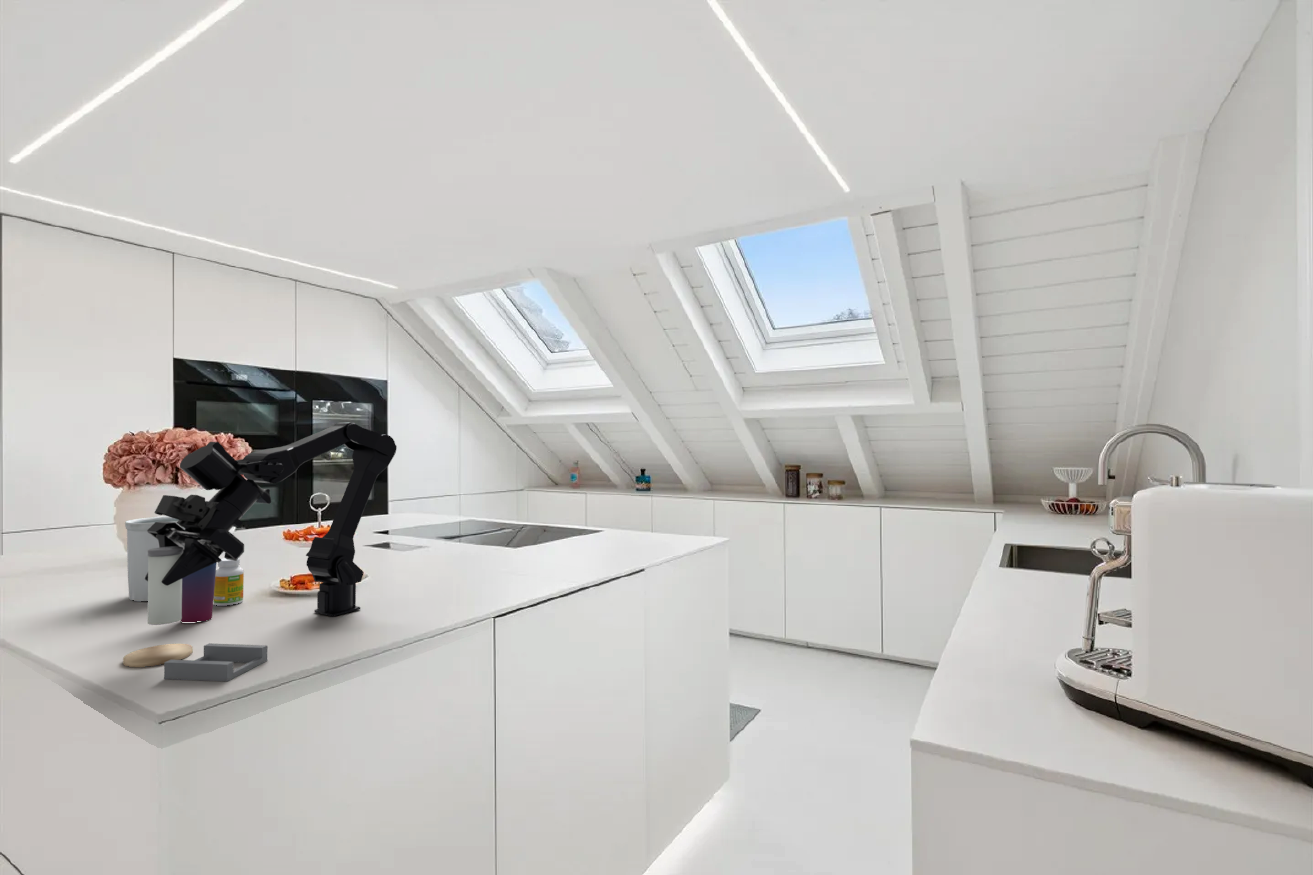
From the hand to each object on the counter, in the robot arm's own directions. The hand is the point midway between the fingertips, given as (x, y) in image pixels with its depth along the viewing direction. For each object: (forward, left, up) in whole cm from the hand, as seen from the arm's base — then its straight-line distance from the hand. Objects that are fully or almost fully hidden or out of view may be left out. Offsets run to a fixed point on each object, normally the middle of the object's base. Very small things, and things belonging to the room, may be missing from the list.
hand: (155, 582), depth 102 cm
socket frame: (-3, +12, -13) cm, 18 cm away
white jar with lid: (-1, 0, -7) cm, 7 cm away
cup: (-15, -20, -13) cm, 29 cm away
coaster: (-1, -2, -13) cm, 13 cm away
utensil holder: (-22, -48, -13) cm, 55 cm away
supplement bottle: (-25, -28, -13) cm, 40 cm away
